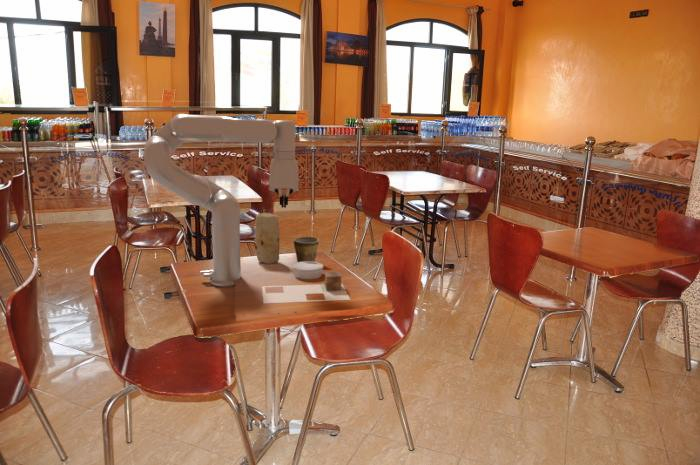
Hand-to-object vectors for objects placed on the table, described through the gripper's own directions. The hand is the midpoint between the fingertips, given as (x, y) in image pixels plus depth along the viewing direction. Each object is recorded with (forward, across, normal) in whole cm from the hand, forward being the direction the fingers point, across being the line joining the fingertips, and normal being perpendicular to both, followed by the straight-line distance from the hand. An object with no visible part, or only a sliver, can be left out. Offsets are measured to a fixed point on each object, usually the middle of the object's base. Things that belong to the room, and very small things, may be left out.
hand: (283, 206), depth 204 cm
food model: (+27, -6, +18) cm, 33 cm away
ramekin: (+27, +9, -3) cm, 28 cm away
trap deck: (+26, +7, -22) cm, 35 cm away
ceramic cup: (+26, +9, +17) cm, 33 cm away
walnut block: (+25, +17, -18) cm, 35 cm away
